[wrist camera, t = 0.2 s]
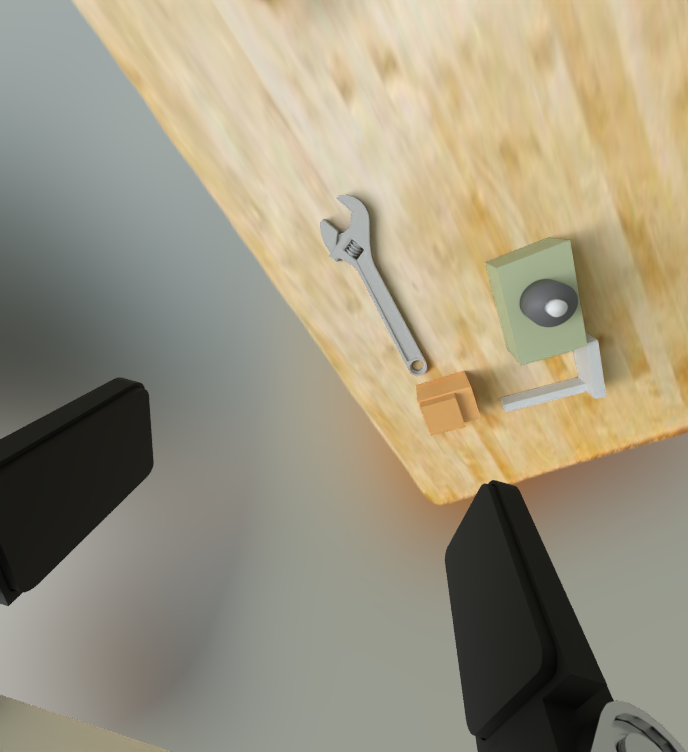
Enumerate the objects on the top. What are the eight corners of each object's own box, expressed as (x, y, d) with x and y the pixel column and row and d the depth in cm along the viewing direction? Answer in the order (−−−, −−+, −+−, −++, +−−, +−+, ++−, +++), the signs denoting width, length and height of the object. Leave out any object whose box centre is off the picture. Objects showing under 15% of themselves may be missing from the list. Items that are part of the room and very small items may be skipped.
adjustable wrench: (430, 367, 47) (431, 372, 45) (388, 381, 49) (388, 386, 47) (359, 189, 38) (357, 187, 37) (312, 215, 40) (309, 215, 39)
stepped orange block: (416, 384, 48) (418, 406, 42) (464, 370, 46) (473, 391, 40) (426, 412, 49) (429, 437, 44) (473, 399, 47) (483, 423, 42)
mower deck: (463, 270, 40) (481, 283, 31) (564, 231, 37) (614, 233, 28) (501, 404, 47) (524, 446, 38) (589, 382, 43) (636, 421, 35)
